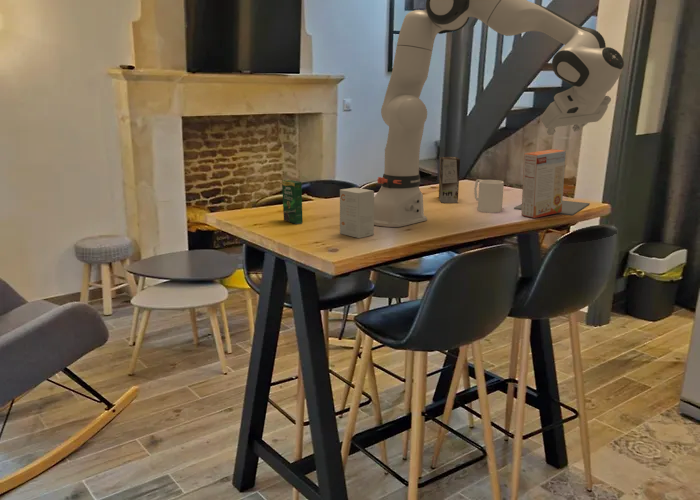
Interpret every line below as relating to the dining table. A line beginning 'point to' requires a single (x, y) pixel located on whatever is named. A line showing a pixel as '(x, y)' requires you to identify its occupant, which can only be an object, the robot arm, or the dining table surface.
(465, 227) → the dining table surface
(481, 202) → the cup
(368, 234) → the small box
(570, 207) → the slate mat
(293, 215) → the coffee box
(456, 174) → the coffee box
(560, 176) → the cracker box
